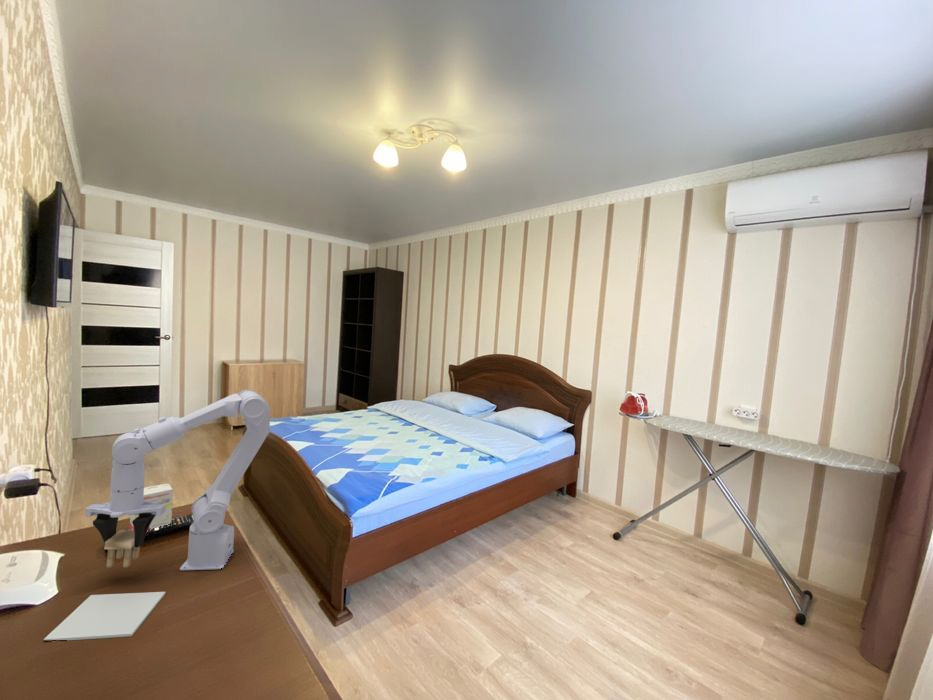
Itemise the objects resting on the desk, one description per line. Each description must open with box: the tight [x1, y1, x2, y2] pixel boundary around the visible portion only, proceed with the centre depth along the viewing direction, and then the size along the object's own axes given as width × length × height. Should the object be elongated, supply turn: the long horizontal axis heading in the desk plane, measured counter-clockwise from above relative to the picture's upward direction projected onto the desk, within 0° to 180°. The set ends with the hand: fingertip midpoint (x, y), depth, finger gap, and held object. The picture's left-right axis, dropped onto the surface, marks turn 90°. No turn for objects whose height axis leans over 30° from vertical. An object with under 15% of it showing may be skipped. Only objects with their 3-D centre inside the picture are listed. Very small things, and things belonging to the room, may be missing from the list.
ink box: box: [129, 483, 174, 530], centre depth 110 cm, size 9×5×12 cm, turn 141°
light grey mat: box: [43, 591, 167, 641], centre depth 79 cm, size 14×12×1 cm
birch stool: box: [104, 529, 141, 568], centre depth 88 cm, size 5×5×6 cm
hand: (124, 545), depth 88 cm, fingers closed on birch stool, 5 cm apart
